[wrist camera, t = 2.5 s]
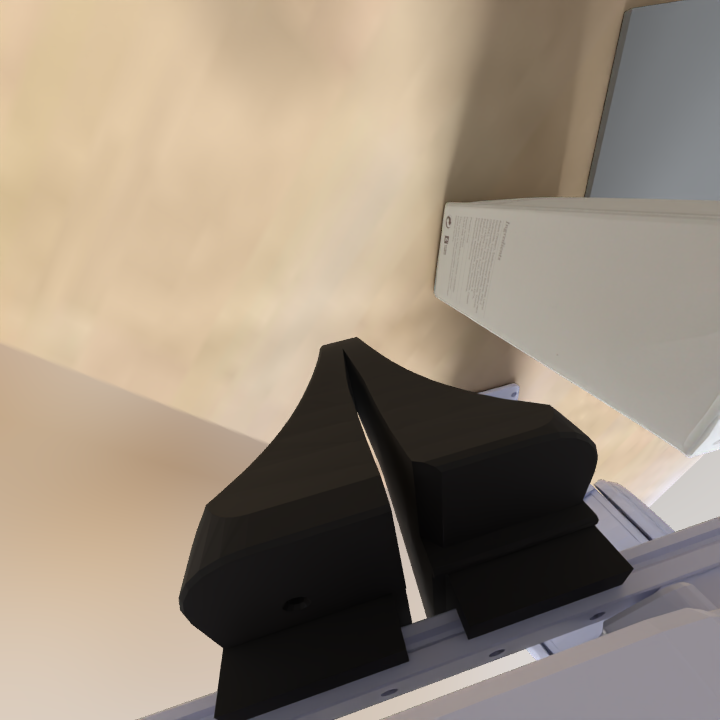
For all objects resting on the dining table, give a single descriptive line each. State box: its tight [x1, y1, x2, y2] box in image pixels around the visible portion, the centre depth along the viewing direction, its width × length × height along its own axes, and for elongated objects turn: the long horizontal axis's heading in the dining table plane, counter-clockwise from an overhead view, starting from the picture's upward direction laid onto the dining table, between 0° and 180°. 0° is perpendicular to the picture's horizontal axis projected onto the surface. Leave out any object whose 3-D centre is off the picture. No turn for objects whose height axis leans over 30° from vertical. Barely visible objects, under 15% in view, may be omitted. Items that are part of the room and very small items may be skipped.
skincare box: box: [434, 197, 720, 458], centre depth 13 cm, size 8×6×15 cm
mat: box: [585, 0, 720, 201], centre depth 21 cm, size 20×18×1 cm
